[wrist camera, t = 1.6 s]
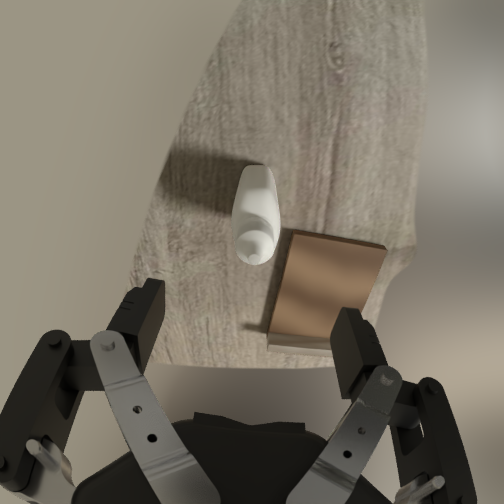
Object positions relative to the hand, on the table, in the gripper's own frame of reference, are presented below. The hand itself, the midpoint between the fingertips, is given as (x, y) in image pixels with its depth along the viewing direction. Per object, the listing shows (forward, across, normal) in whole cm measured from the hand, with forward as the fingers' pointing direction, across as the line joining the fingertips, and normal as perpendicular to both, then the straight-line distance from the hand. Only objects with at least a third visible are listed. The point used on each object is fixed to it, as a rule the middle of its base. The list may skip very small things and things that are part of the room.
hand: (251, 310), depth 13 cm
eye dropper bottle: (+16, 0, 0) cm, 17 cm away
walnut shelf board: (+16, -9, +10) cm, 21 cm away
